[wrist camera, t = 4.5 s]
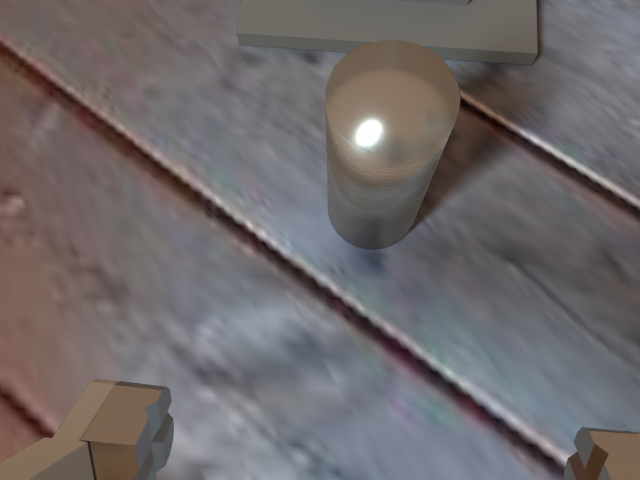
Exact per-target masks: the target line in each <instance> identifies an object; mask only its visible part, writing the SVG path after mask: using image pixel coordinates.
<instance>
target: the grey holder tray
mask: <svg viewBox="0 0 640 480" xmlns="http://www.w3.org/2000/svg"><path fill="white" fill-rule="evenodd" d="M237 37H238V41H239V45H248V46H263V47H277V48H291V49H306V50H320V51H334V52H349V53H350V52H351V51H353V50H354V49H356V48H358V47H360V46H362V45H365V44H368V43H371V42H375V41H381V40H401V41H407V42H411V43H415V44H418V45H420V46H423V47H425V48H427V49H429V50H430V51H432V52H433V53H435V54H436V55H437V56H439V57H440V58H441V59H449V60H463V61H478V62H492V63H507V64H521V65H532V63H533V61H534V59H535V58H536V56H537V54H538V46H537V8H536V0H242V4H241V9H240V15H239V21H238V27H237Z"/></svg>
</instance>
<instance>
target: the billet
mask: <svg viewBox="0 0 640 480" xmlns="http://www.w3.org/2000/svg"><path fill="white" fill-rule="evenodd" d="M459 109H460V91H459V86H458V83H457V81H456V78H455V76H454V74H453V72H452V71H451V69H450V68H449V67H448V65H447V64H446V63H445V62H444V61H443V60H442V59H441V58H440V57H439V56H437V55H436V54H435V53H433V52H432V51H430V50H429V49H427V48H425V47H423V46H420V45H418V44H415V43H411V42H407V41H401V40H381V41H375V42H371V43H368V44H365V45H362V46H360V47H358V48H356V49H354V50H353V51H351V52H350V53H348V54H347V55H346V56H345V57H343V58H342V59H341V60H340V62H339V63H338V64H337V65H336V67H335V68H334V69H333V71H332V73H331V75H330V77H329V80H328V83H327V88H326V141H327V189H328V214H329V218H330V221H331V224H332V226H333V228H334V229H335V231H336V232H337V233H338V234H339V235H340V236H341V237H342V238H343V239H344V240H345V241H347V242H348V243H350V244H352V245H354V246H356V247H359V248H363V249H374V250H375V249H382V248H387V247H389V246H392V245H394V244H396V243H397V242H399V241H400V240H402V239H403V238H404V237H405V236H406V235H407V233H408V232H409V231H410V229H411V227H412V225H413V223H414V221H415V218H416V216H417V213H418V211H419V209H420V206H421V204H422V201H423V199H424V196H425V194H426V192H427V189H428V187H429V184H430V182H431V179H432V177H433V175H434V172H435V170H436V167H437V165H438V163H439V160H440V158H441V155H442V153H443V150H444V148H445V146H446V143H447V141H448V138H449V136H450V133H451V131H452V129H453V126H454V124H455V121H456V119H457V116H458V113H459Z"/></svg>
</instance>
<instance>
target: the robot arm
mask: <svg viewBox="0 0 640 480" xmlns="http://www.w3.org/2000/svg"><path fill="white" fill-rule="evenodd" d="M170 404H171V394H170V389H169V388H167V387H163V386H155V385H147V384H139V383H131V382H123V381H120V382H117V381H110V380H102V379H95V380H93V381H92V382H90V383H89V384H88V386H87V387H86V389H85V390H84V392H83V393H82V395H81V396H80V398H79V399H78V401H77V402H76V403H75V405H74V406H73V408H72V409H71V411H70V412H69V414H68V415H67V417H66V418H65V420H64V421H63V423H62V424H61V425H60V427H59V428H58V430H57V431H56V433H55V434H54V436H53V437H52V438H43V439H41V440H39V441H38V442H36V443H34V444H33V445H31V446H29V447H27V448H26V449H24V450H22V451H20V452H19V453H17V454H15V455H14V456H12V457H10V458H8V459H7V460H5V461H3V462H2V463H0V480H157V479H156V473H157V472H158V471H159V470H161V469H162V468H163V467H165V465H166V463H167V460H168V457H169V455H170V451H171V447H172V442H173V434H174V423H173V418H172V417H171V416H170V415H169V413H168V412H167V411H168V409H169V406H170ZM574 443H575V446H576V448H577V451H578V452H577V453H575V454H574V455H572V456H571V457H569V458H568V460H567V464H566V467H565V470H564V480H640V432H629V431H618V430H607V429H596V428H585V427H582V428H581V429H580V430H579V431H578V432H577V435H576V437H575V440H574Z"/></svg>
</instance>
